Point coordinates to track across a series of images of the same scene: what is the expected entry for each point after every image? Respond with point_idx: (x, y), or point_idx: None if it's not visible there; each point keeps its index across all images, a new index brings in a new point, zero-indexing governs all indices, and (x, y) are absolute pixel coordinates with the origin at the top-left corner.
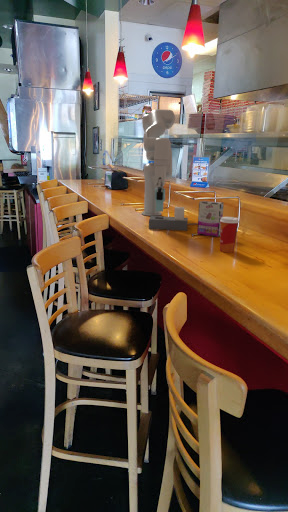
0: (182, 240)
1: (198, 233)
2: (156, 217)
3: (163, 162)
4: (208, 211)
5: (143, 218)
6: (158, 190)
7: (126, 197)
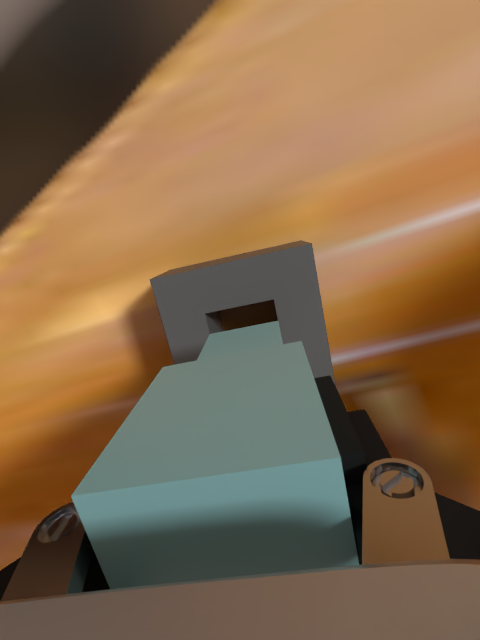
0: (8, 502)
1: None
2: (275, 306)
3: None
4: None
5: None
6: (8, 577)
7: None
